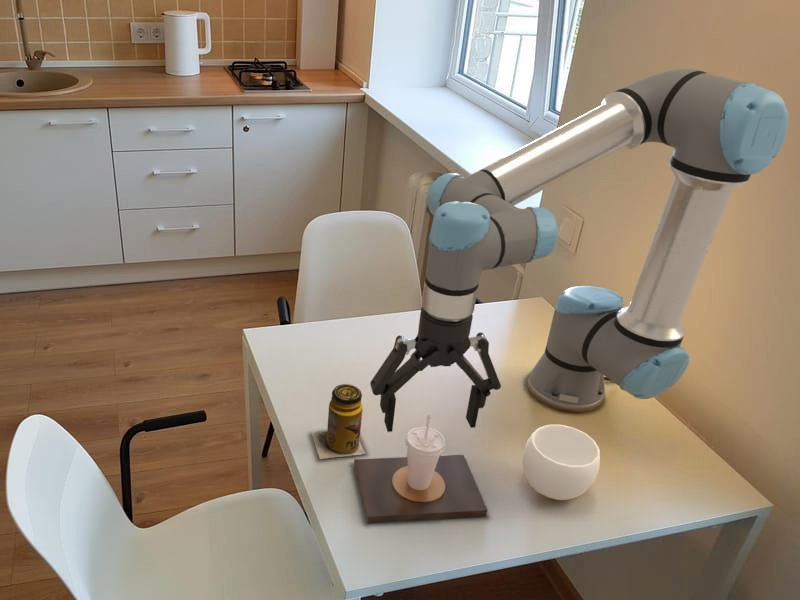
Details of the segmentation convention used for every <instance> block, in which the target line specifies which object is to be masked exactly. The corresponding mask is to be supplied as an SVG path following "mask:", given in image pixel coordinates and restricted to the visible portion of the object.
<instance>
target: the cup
mask: <svg viewBox="0 0 800 600" xmlns="http://www.w3.org/2000/svg"><path fill="white" fill-rule="evenodd" d="M600 466H601V450H600V448H599V446H598V443H597V442H596V441H595V439H594V438H592V437H591V436H590V435H588V434H587V433H586V432H584V431H581V430H580V429H578V428H576V427H573V426H570V425H569V426H568V425H565V424H545V425H543V426H539V427H538V428H536V429H535V430H534V432H532V433H531V434H530V436H529V438H528V439H527V441H526V444H525V447H524V451H523V455H522V468H523V474H524V476H525V479H526V480H527V482H528V483H529V485H530V486H531V488H533V489H534V490H535V491H536V492H537V493H539V494H541V495H542V496H544V497H546V498H549V499H553V500H556V501H569V500H572V499H575V498H577V497H579V496H582V495H584V494H585V493H586V491H587V490H588V489H589V488H590V487H591V486H592V484H593V483H594V482H595V481H596V480H597V477H598V474H599V472H600V469H601V468H600Z"/></svg>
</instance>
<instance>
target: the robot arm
mask: <svg viewBox="0 0 800 600" xmlns="http://www.w3.org/2000/svg"><path fill="white" fill-rule="evenodd" d="M788 126H789V113H788V108H787V107H786V102H785V101H784V99H783V98H782V97H781V95H779V94H778V93H776V92H775V91H772V90H770V89H767V88H764V87H761V86H759V85H758V84H756V83H751V82H747V81H743V80H738V79H734V78H730V77H726V76H722V75H716V74H712V73H708V72H705V71H703V70H698V69H694V68H679V69H673V70H668V71H663V72H659V73H656V74H652V75H649V76H646V77H644V78H642V79H638V80H635V81H633V82H631V83H628V84H627V85H624V86H622V87H621V88H619V89H616V90H615V91H613V92H611V93H609V94H607V95H606V97H604V98H603V100H602V102H601V105H599V106H598V107H596V108H594V109H591V110H590V111H588V112H586V113H584V114H583V115H581V116H578V117H577V118H575V119H573V120H571V121H569V122H567V123H565V124H564V125H562V126H560V127H558V128H556V129H554V130H553V131H550V132H548V133H546V134H544V135H543V136H541V137H539V138H537V139H535V140H533V141H532V142H530V143H528V144H526V145H523V146H522V147H520V148H518V149H516V150H514V151H513V152H511V153H509V154H507V155H505V156H503V157H502V158H499V159H497V160H496V161H494V162H492V163H490V164H488V165H487V166H485V167H483V168H481V169H479V170H478V171H475V172H473V173H471V174H468V175H467V176H464V175H462V174H458V173H454V172H449V173H447V172H446V173H444V174H442V175H440V176H439V177H437V178H436V179H435V181H434V182H433V183H432V184H431V186H430V188H429V189H428V193H427V198H426V201H427V202H426V203H427V207H428V210H429V212H430V213H431V214H432V215H433V219H432V224H431V228H430V232H429V236H428V242H429V243H428V249H427V250H428V251H427V260H426V270H425V278H424V284H423V292H422V298H421V299H422V300H421V308H420V313H419V322H418V328H417V335H416V336H415V338H414V339H413V338H412V339H411V338H405V337H404V336H403V334H399V335H397V336H396V337H395V341H394V345H393V347H392V349H391V351H390V352H389V354H388V355H387V357H386V359H385V360H384V361H383V363H382V364H381V366H380V368H379V369H378V370H377V371H376V373H375V374H374V376H373V378H372V379H371V380H370V383H369V385H370V389H371V392H372V394H373V395H374V396H380V401H379V402H380V403H379V407H380V410H381V412H382V414H384V420H383V422H384V425H385V428H386V431H387V433H392V432H393V428H394V420H395V413H396V404H397V397H396V395H395V394H396V393H397V392H398V391H399V390H400V389H401V388H402V387H404V386H405V385H406V384H407V383H408V382H409V381H410V380H412V378H414V376H416V375H417V374H418V373H419V372H422V371H424V370H425V369H426V368H427V367H428V366H429V367H430V368H436V367H451V366H452V365H454V364H456V365H457V366H458V368H459V369H460V370H462V371H463V372H464V374H465V375H466V376H467V377H468V378H469V380H470V381H471V382H472V383H473V384H472V385H471V388H470V394H469V398H468V403H467V409H466V415H465V419H466V421H467V423H468V425H469V428H470V429H473V428H474V429H475V428H476V426H477V420H478V415H479V410H480V409H484V408H485V406H486V401H487V398H488V397H490V395H492V394H491V391H492V390H494V391H498V390H500V389H501V387H502V385H501V382H500V380H499V377H498V374H497V371H496V369H495V367H494V364H493V361H492V358H491V357H490V354H489V350H490V343H489V341H488V339H487V337H486V335H485V333H483V332H480V331H479V332H477V334H476V336H471V337H469V336H470V334H471V329H472V324H473V323H472V322H473V318H474V316H473V315H474V311H475V307H476V300H477V296H478V295H477V294H478V289H479V284H480V279H481V274H482V272H483V271H487V270H488V271H489V270H493V269H498V268H503V267H509V266H514V265H519V264H529V263H531V262H533V261H536V260H539V259H542V258H546V257H548V256H549V255H551V254H552V253H553V252H554V251H555V249H556V248H557V243H558V240H559V239H558V238H559V225H558V222H557V219H556V218H555V216H554V214H553V213H552V212H551V211H550V210H549V209H547V208H546V207H542V206H536V207H535V206H534V207H532V206H527V207H526V208H520V207H517V206H516V205H518V204H520V203H522V202H524V201H525V200H527V199H529V198H531V197H532V196H535V195H536V194H538V193H541V192H542V191H544V190H545V189H547V188H550V187H551V186H553V185H555V184H557V183H559V182H561V181H562V180H564V179H566V178H568V177H569V176H572V175H573V174H576V173H577V172H579V171H581V170H583V169H585V168H586V167H588V166H590V165H592V164H594V163H595V162H597V161H600V160H601V159H603V158H605V157H606V156H608V155H610V154H612V153H614V152H616V151H618V150H620V149H623V150H631V149H634V148H637V147H639V146H640V145H642V144H646V143H660V144H664V145H666V146H668V147H671V148H674V150H673V152H672V155H671V158H670V161H669V164H668V166H669V168H670V169H671V171H672V173H673V174H674V179H673V182H672V185H671V188H670V191H669V194H668V197H667V200H666V203H665V205H664V207H663V211H662V214H661V216H660V219H659V222H658V224H657V228H656V231H655V233H654V235H653V236H654V237H653V238H652V241H651V244H650V247H649V250H648V253H647V255H646V258H645V261H644V264H643V267H642V269H641V272H640V275H639V278H638V281H637V283H636V286H635V290H634V292H633V295H632V297H631V300H630V303H629V306H626V307H624V306H625V304H624V298H623V297H622V295H621V294H620V293H618V292H616V291H614V290H611V289H609V288H605V287H600V286H592V285H580V286H579V285H578V286H571V287H569V288H567V289H565V290H563V292H562V293H560V295H559V297H558V300H557V303H556V306H555V307H554V311H553V316H552V320H551V326H550V329H549V332H548V337H547V342H546V346H545V348H544V349H545V350H544V351H543V354H542V355H541V357H540V358H539V359H538V361H536V364H535V365H534V366H533V368H531V371H530V372H529V375H528V379H527V388H528V390H529V392H530V394H531V395H532V396H533V397H534V398H535V399H537V400H538V401H539V402H540V403H541V404H544V405H546V406H548V407H550V408H552V409H556V410H560V411H562V412H569V413H586V412H591V411H593V410H595V409H597V408H598V407H600V406H601V405H602V402H603V400H604V397H605V393H606V392H605V389H606V388H605V381H609V382H612V383H614V384H615V385H617V386H618V387H619V389H620V390H622V391H623V392H626V393H627V394H630V395H631V396H632V397H634V398H636V399H640V400H648V399H649V400H650V399H652V398H655V397H658V396H660V395H662V394H664V393H665V392H666V391H668V390H670V388H672V387H673V386H674V385H675V384H676V383H677V382H678V381H679V380H680V379H681V377H683V375H684V374H685V372H686V370H687V369H688V367H689V364H690V355H689V352H688V351H687V349H685V348H684V347H681V345H682V342H683V339H684V337H685V335H686V328H685V327H684V325H683V324H682V322H681V319H682V317H683V314H684V311H685V310H686V307H687V305H688V302H689V300H690V297H691V295H692V292H693V289H694V287H695V285H696V283H697V280H698V278H699V275H700V273H701V271H702V268H703V266H704V263H705V260H706V258H707V255H708V252H709V250H710V248H711V245H712V243H713V240H714V238H715V235H716V233H717V231H718V228H719V226H720V224H721V221H722V218H723V215H724V213H725V211H726V208H727V206H728V203H729V201H730V198H731V196H732V194H733V191H734V190H735V189H737V188H739V187H741V186H743V185H745V184H748V182H749V180H750V178H751V176H752V175H757V174H758V173H760V172H762V171H764V170H765V169H766V168H768V166H770V165H771V164H772V159H774V158H776V157H777V156H778V154H779V153H780V151H781V148H782V147H783V145H784V142H785V138H786V136H787V131H788ZM471 347H472V348H473V350H474V351H475V352H477V353H478V356H479V359H480V361H481V364H482V365H483V368H484V371H485V374H486V376H487V378H485V379H484V378H483V377H482V376H481V374H480V373H479V372H478V371H477V369H475V367H474V366H473V365H472V364H471V362H470V361H469V360H468V359H467V358H466V356H465V355H464V354H466V352H467V351H468V350H469V349H470V348H471ZM414 349H415V350H414ZM411 350H414V351H413V352H412V353H411V354H410V351H411ZM409 354H410V358H409V359H407V360H406V361H405V362H404V363H403V361H404V359H405V357H406V356H407V355H409ZM402 363H403V364H402ZM401 364H402V365H401ZM400 365H401V366H400Z"/></svg>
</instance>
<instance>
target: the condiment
mask: <svg viewBox="0 0 800 600" xmlns="http://www.w3.org/2000/svg"><path fill="white" fill-rule="evenodd" d="M362 397H363V394H362V391H361V389H360V388H359V387H357V386H355V385H354V384H353V385H352V384H347V383H342V384H339V385H337V386H335V387H334V388H333V390H332V391H331V399H330V401H329V403H328V415H327V417H328V418H327V427H326V428H327V430H326V431H315V432H311V437H312V440H313V443H314V446H315V450H316V452H317V455H318V457H319V460H324V459H330V458H333V459H334V458H342V457H344V458H345V457H352V456H361V455H365V454H366V452H365V450H364V447H363V445H362V443H361V441H360V440H361V439H360V438H361V428H362V418H363V417H362V416H363V411H364V410H363V403H362Z"/></svg>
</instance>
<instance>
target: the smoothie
mask: <svg viewBox="0 0 800 600" xmlns="http://www.w3.org/2000/svg"><path fill="white" fill-rule="evenodd" d="M431 417H432V415H431V414H427V416H426V422H425V426H418V427H415V428H412V429H410V430H409V431H408V432H407V433H406V438H405V445H406V446H407V450H406V451H407V457H408V484H409V486H410V487H411V488H413V489H415V490H425V489H427V488H428V487H429V485H430V482H431V479H432V476H433V473H434V470H435V467H436V465H437V462H438V459H439V456H440V455H441V453H442V452H443V451H444V450H445V446H446V439H445V437H444V435H443V434H442V433H441V432H440V431H438V430H436V429H434V428H431V427H430V424H431Z"/></svg>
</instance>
